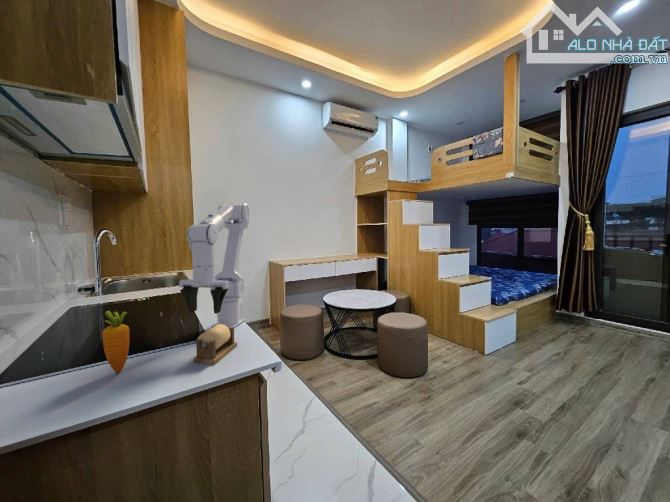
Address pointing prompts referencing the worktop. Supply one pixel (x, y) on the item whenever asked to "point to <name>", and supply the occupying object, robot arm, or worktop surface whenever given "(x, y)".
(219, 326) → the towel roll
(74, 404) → the worktop surface
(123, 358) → the carrot
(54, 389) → the worktop surface
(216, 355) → the roll holder
